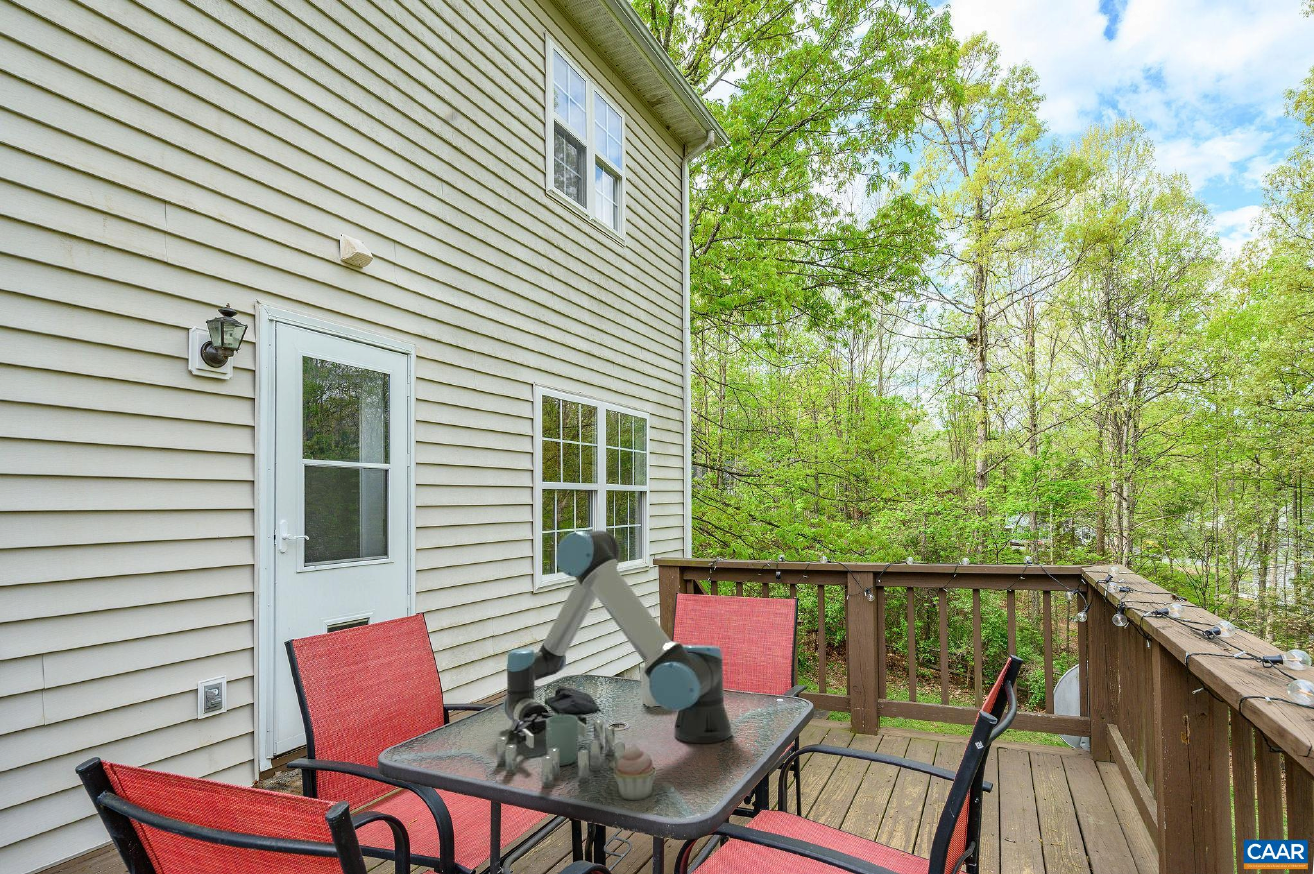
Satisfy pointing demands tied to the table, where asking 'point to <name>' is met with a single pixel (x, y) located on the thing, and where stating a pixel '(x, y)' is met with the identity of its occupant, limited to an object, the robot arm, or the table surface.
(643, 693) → the candle holder
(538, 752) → the slate coaster
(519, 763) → the table surface
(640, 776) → the cupcake
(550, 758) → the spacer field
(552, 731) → the cup
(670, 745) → the table surface
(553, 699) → the dark slate chunk
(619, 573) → the robot arm
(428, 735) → the table surface
